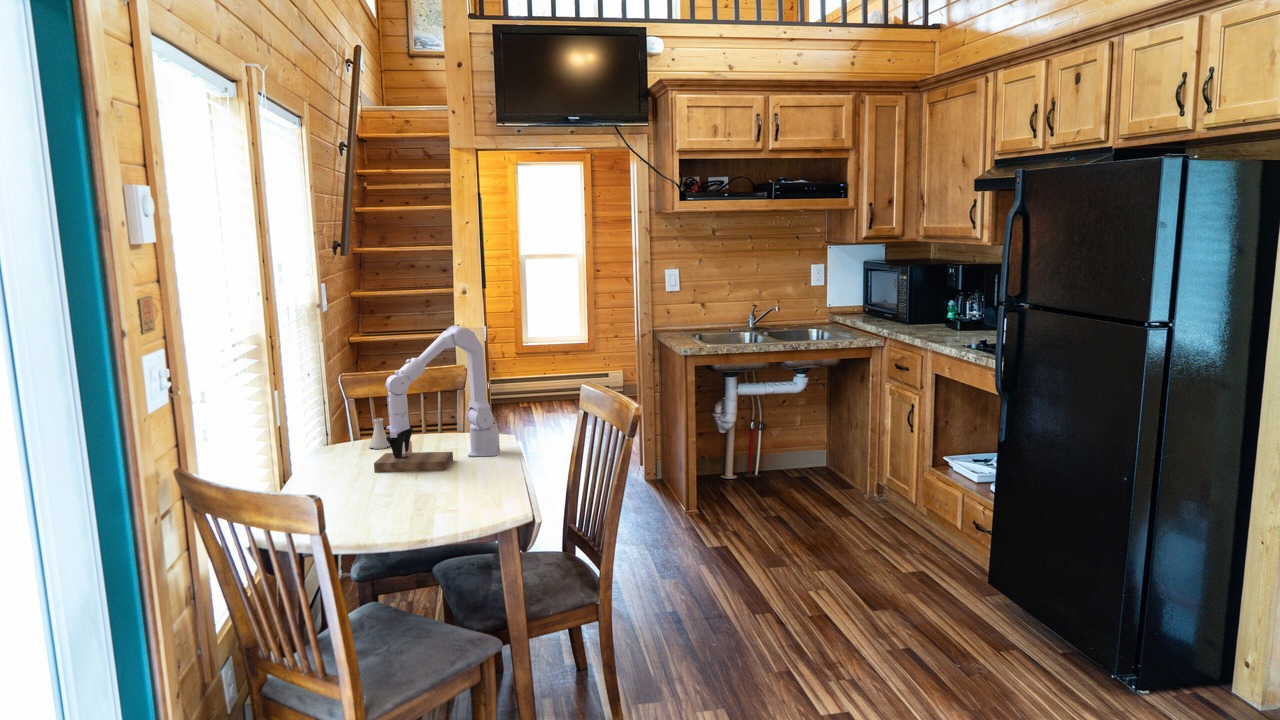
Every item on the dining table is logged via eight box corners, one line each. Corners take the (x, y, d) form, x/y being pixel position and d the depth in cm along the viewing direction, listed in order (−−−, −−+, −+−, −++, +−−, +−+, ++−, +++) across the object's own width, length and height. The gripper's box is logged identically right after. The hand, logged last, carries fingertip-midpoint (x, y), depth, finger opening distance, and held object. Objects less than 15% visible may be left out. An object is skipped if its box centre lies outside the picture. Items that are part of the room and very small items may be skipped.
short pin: (413, 453, 283) (412, 440, 283) (411, 455, 281) (410, 442, 280) (406, 453, 283) (405, 440, 283) (404, 455, 281) (403, 442, 280)
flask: (365, 449, 291) (363, 421, 289) (377, 444, 297) (375, 416, 296) (383, 450, 289) (381, 422, 287) (395, 445, 295) (393, 417, 294)
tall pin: (406, 465, 269) (405, 441, 267) (405, 467, 266) (403, 443, 265) (399, 465, 268) (397, 441, 267) (397, 467, 266) (395, 443, 265)
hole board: (453, 460, 273) (452, 451, 273) (444, 470, 261) (444, 461, 261) (385, 462, 273) (385, 453, 273) (374, 472, 261) (373, 463, 261)
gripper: (392, 408, 272) (395, 448, 274) (379, 418, 257) (382, 460, 259) (414, 407, 272) (416, 448, 274) (401, 417, 257) (404, 460, 259)
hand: (401, 454), depth 267 cm, fingers open, 7 cm apart
